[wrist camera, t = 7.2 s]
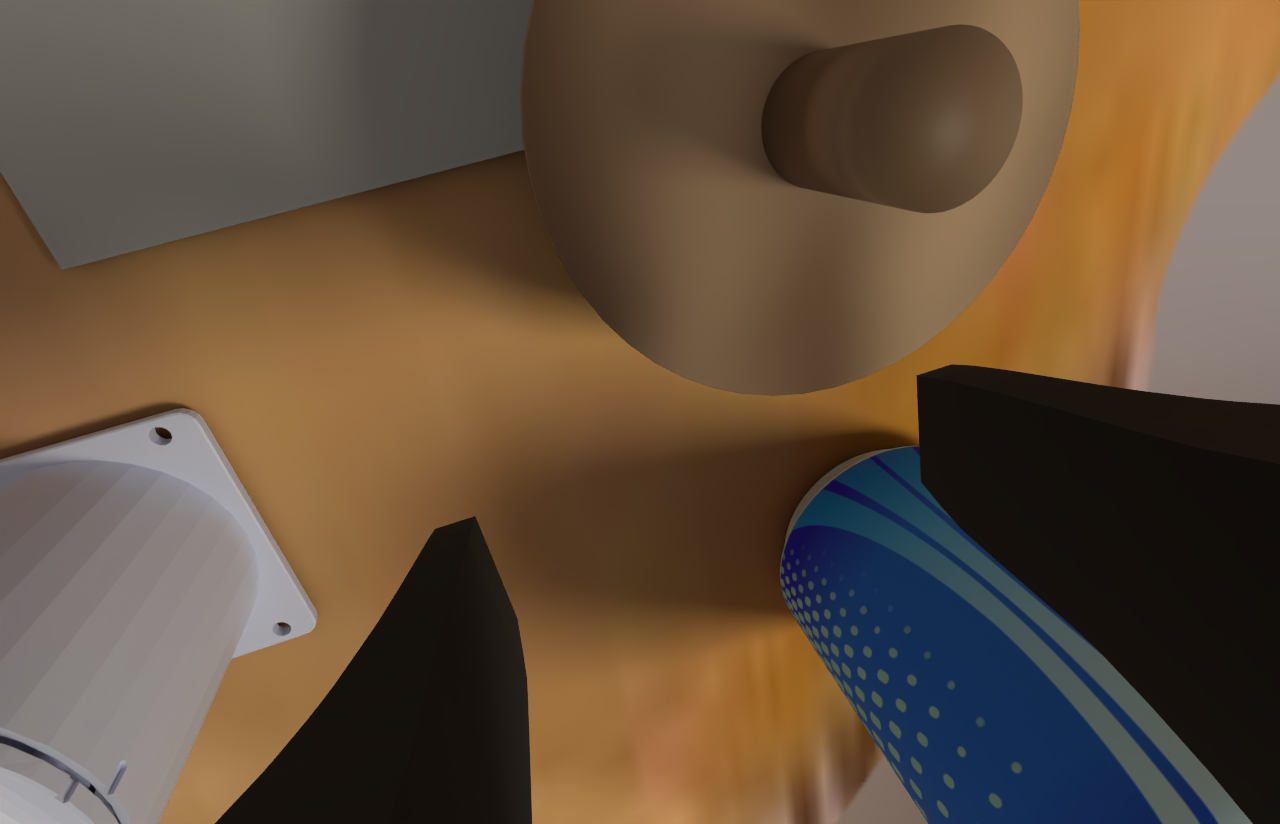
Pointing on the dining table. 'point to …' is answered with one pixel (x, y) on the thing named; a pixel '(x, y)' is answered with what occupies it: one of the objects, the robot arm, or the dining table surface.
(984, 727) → the beer can
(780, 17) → the lid
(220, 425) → the dining table surface
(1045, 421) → the robot arm
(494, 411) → the dining table surface
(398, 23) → the mat
